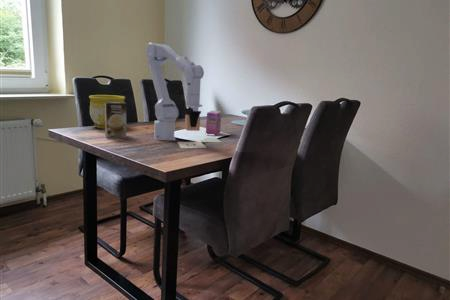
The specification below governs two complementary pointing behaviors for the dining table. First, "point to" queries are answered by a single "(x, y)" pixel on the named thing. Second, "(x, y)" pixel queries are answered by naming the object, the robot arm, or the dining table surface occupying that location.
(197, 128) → the block
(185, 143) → the plate
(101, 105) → the flowerpot
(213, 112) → the box
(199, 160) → the dining table surface
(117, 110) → the coffee box
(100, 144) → the dining table surface
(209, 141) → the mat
